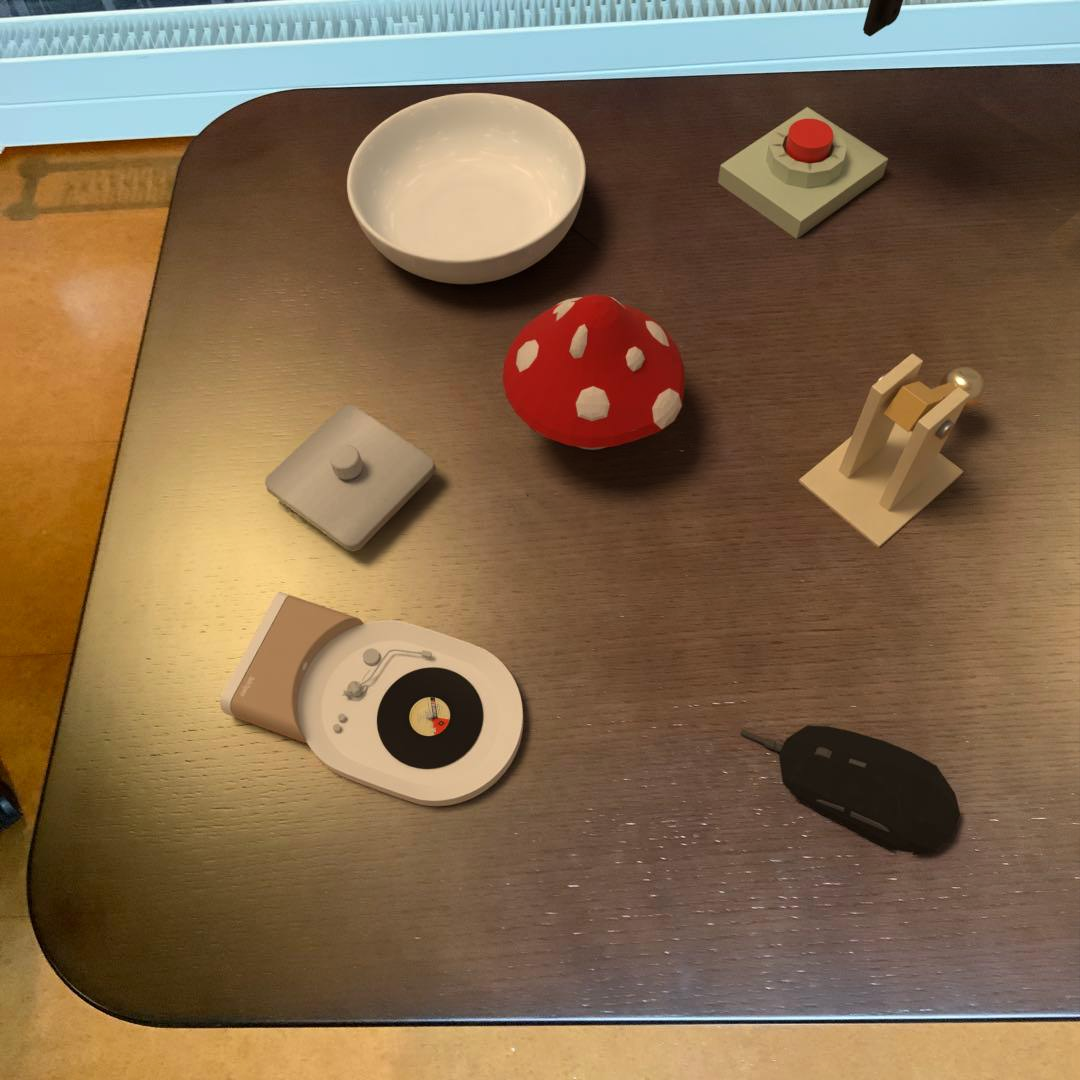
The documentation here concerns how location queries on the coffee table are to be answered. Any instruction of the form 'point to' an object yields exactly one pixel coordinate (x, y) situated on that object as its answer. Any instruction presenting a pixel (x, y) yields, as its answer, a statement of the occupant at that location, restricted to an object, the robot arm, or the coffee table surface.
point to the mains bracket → (888, 461)
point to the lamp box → (801, 177)
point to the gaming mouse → (869, 787)
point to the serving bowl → (467, 186)
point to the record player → (380, 701)
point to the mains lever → (933, 396)
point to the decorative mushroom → (594, 374)
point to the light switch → (350, 477)
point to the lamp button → (809, 140)
